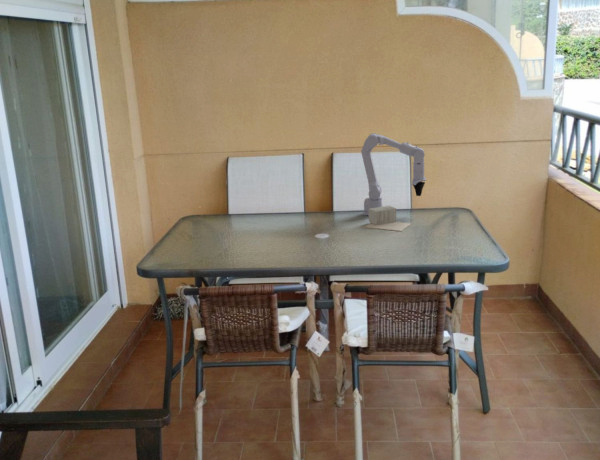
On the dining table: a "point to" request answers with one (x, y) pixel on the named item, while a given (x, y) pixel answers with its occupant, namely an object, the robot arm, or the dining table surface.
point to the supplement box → (382, 215)
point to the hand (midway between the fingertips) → (418, 195)
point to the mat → (390, 226)
